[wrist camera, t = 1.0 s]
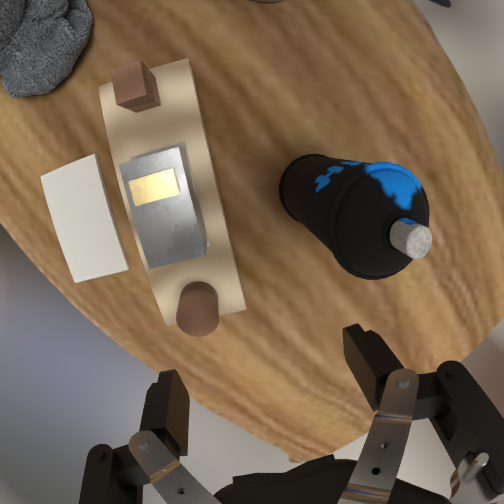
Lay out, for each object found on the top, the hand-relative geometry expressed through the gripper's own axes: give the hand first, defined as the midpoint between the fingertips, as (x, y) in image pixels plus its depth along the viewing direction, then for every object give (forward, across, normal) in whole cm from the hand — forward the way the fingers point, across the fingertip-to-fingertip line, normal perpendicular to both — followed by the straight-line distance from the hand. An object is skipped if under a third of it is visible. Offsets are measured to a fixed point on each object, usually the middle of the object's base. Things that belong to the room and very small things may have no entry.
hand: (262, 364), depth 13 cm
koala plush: (+23, +18, -31) cm, 42 cm away
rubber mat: (+22, +17, -6) cm, 29 cm away
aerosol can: (+23, -10, -2) cm, 25 cm away
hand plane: (+22, +5, -6) cm, 24 cm away
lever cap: (+17, +5, -6) cm, 18 cm away
